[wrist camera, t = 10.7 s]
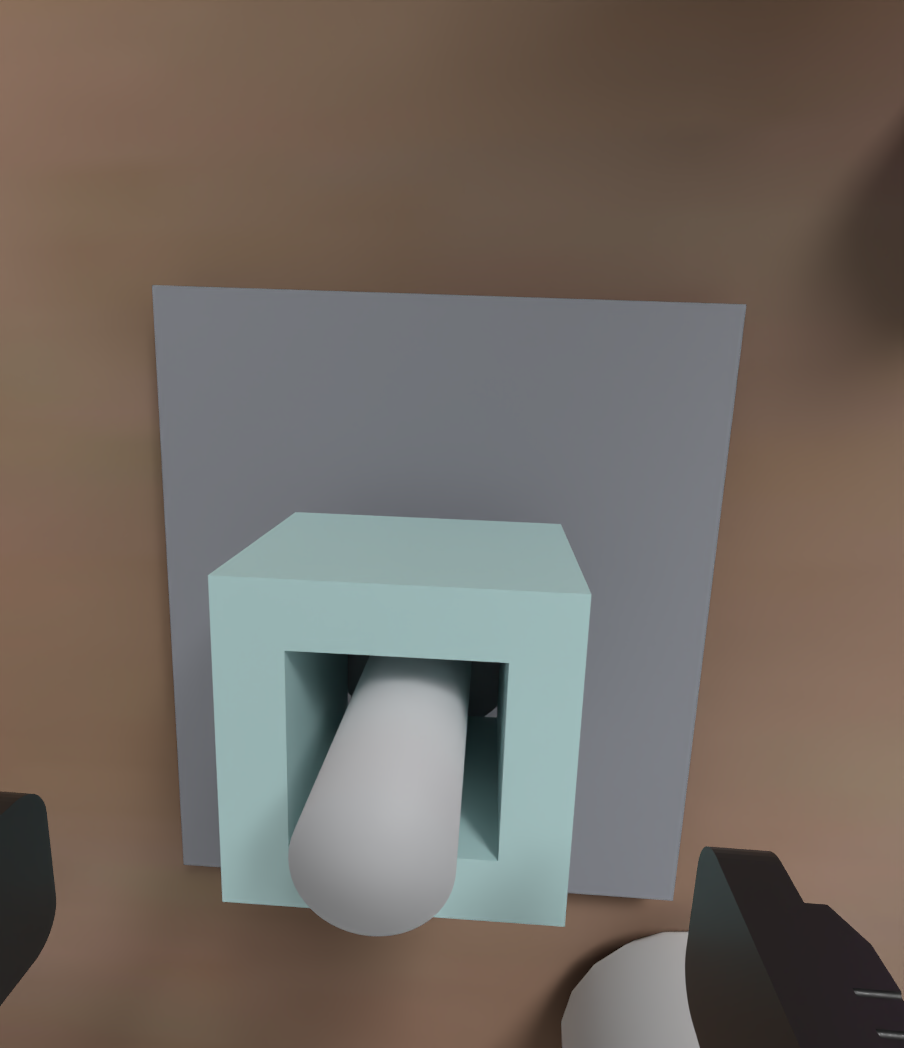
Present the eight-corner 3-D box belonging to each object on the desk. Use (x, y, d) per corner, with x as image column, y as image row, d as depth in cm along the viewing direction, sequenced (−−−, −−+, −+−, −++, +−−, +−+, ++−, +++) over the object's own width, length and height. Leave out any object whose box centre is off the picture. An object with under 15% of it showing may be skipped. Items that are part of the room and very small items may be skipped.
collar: (295, 512, 16) (207, 575, 11) (560, 524, 16) (591, 594, 11) (299, 750, 17) (222, 901, 12) (544, 765, 17) (564, 926, 12)
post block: (174, 290, 18) (-253, 184, 8) (729, 308, 17) (1076, 218, 7) (200, 837, 21) (-70, 1268, 11) (662, 870, 21) (828, 1361, 10)
